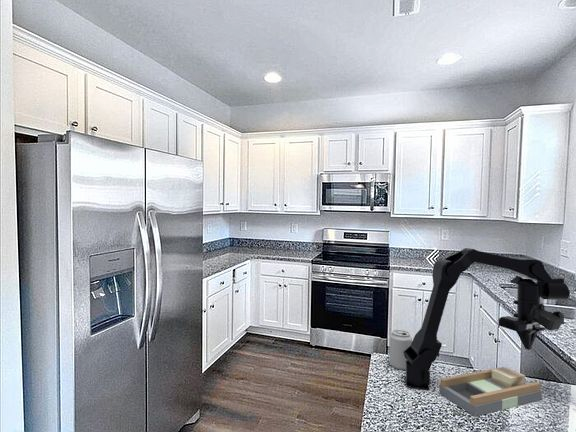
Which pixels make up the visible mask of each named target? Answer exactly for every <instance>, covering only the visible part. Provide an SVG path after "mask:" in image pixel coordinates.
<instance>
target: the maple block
mask: <svg viewBox="0 0 576 432" xmlns="http://www.w3.org/2000/svg"><path fill="white" fill-rule="evenodd" d="M502 367H503V368H500V367H497V369H495V368H491V369H492V381H493V382H495V383H497V384H499V385H501V386H503V387H505V388H510V387H515V386H520V385H524V384H526V375H525V374H523V373H520V372H518V371H517V370H513V369H511V368H509V367H506V366H502Z"/></svg>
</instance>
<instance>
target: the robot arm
mask: <svg viewBox="0 0 576 432" xmlns="http://www.w3.org/2000/svg"><path fill="white" fill-rule="evenodd" d="M474 263H479V264H483V265H488V266H493V267H496V268H502V269H505V270H507V271H509V272H512V273H514V274H517V275H516V276H515V277H513V278H512V279H511V280H510V281H509V282H510V283H511V284H515V285H517V286H516V287H517V288H516V289H517V290H516V292H517V295H516V296H517V297H516V299H515V300H513V304H514V305H517V306H516V312H515V313H513V316H510V315H507V316H505V315H504V316H500V317H499V318H498V324H497V325H498V326H499V327H502V328H505V329H508V330H511V331H514V332H515V333H516V334H517V335H518V337H519V340H520V341H521V344H522V346H523V347H524V349H525V350H528V351H529V350H532V347H533V344H534V342H535V340H536V338H537V335H538V334H539V333H540V332H541V333H542V332H543V331H546V330H547V331H551V332H552V331H554V330H556V331H558V330H560V328H561V325H565V324H566V323H565V317H564V313H563V312H561V310H559V311H558V310H557V311H553V312H552V311H548V310H546V309H545V305H544V303H542V302H541V299H542V300H547V301H548V300H549V301H550V300H552V301H553V300H555V301H556V300H557V301H566V300H568V299H569V297H570V293H571V292H570V289H569V287H568V285H567V284H566V283H565V279H564V278H562V277H557V276H556V277H551V276H550V274H549V273H548V272H547V270H546V268H545V266H544V263H543V262H542V261H541V260H539V259H534V258H529V257H528V258H527V257H522V256H521V257H519V256H518V257H516V256H513V257H512V256H511V257H510V256H504V255H499V254H494V253H490V252H485V251H481V250H477V249H475V248H468V247H466V248H463V249H461V250H460V251H457V252H456V253H453V254H451V255H449V256H447V257H445V258H444V259H443V258H441V259H438V260H436V261H435V262H434V264H433V267H432V274H431V275H432V284H433V286H432V290H431V293H430V296H429V300H428V304H427V307H426V311H425V313H424V318H423V321H422V325H421V327H420V329H419V330H418V331H417V332H416V333H415V335H414V337H413V338H412V343H411V345H410V346H409V347H408V348H407V349H406V350H405V351H404V352H403V353H404V356H405V358H406V359H407V360H408V361H406V370H405V375H404V381H405V386H406V387H407V388H412V389H419V390H420V389H421V390H427V391H428V390H429V391H430V385H431V371H430V369H431V367H432V365H433V363H434V362H435V361H436V359H437V357H438V358H439V357H440V350H441V348H442V345H443V343H442V342H440V341H439V340H438V331H439V328H440V325H441V321H442V318H443V315H444V311H445V307H446V305H447V299H448V298H449V294H450V291H451V290H452V289H453V287H454V286H455V285H456V284H457V282H458V280H459V278H460V276H461V274H462V273H464V272H465V271H467V270H468V269H469V268H470V266H471V265H472V264H474ZM523 277H526V278H523Z"/></svg>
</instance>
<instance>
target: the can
mask: <svg viewBox="0 0 576 432" xmlns="http://www.w3.org/2000/svg"><path fill="white" fill-rule="evenodd" d="M412 341H413V337H412V336H411V332H409V331H408V330H403V329H392V330H391V333H390V334H389V348H388V349H389V354H388V355H389V359H388V361H389V364H390V365H391V367H392V368H394V369H397V370H401V371H406V361H408V360H407V359H406V358H405V356H404V353H403V352H404V351H405V350H406V349H407V348H408V347H409V346H410V345H411V343H412Z"/></svg>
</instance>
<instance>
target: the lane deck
mask: <svg viewBox="0 0 576 432" xmlns="http://www.w3.org/2000/svg"><path fill="white" fill-rule="evenodd" d="M503 367H504V366H502V367H499V368H503ZM497 368H498V367H497ZM497 368H496V367H495V368H494V369H497ZM492 369H493V368H491V369H485V370H479V371H474V372H468V373H463V374H458V375H453V376H447V377H442V378H440V379H439V381H440V383H439V389H438V390H439V392H438V393H439V394H440V395H441V396H442V397H445V398H446V399H448V400H449V401H450V402H452V403H454V404H455V405H456V406H457V407H460V408H461V409H463V410H464V411H466V412H467V413H469V414H471V415H472V416H473V417H479V416H482V415H486V414H490V413H493V412H498V411H503V410H506V409H510V408H514V407H518V406H522V405H527V404H530V403H535V402H539V401H542V400H543V391H542V385H541V383H540V382H538V381H535V382H530V383H529V382H528V383H525V384H524V385H520V386H515V387H510V388H505V387H503V386H501V385H499V384H497V383H495V382H493V381H492Z"/></svg>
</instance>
